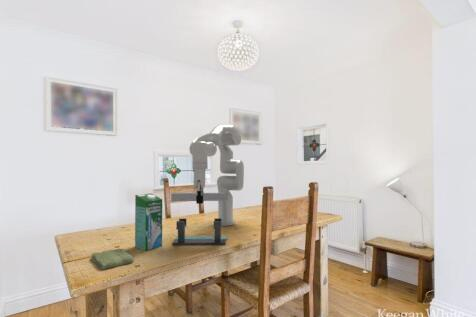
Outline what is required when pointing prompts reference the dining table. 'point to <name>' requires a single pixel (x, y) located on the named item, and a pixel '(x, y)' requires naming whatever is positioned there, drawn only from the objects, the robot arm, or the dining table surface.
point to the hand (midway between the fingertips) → (200, 202)
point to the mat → (202, 238)
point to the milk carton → (148, 221)
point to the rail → (205, 195)
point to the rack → (181, 240)
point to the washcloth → (111, 258)
